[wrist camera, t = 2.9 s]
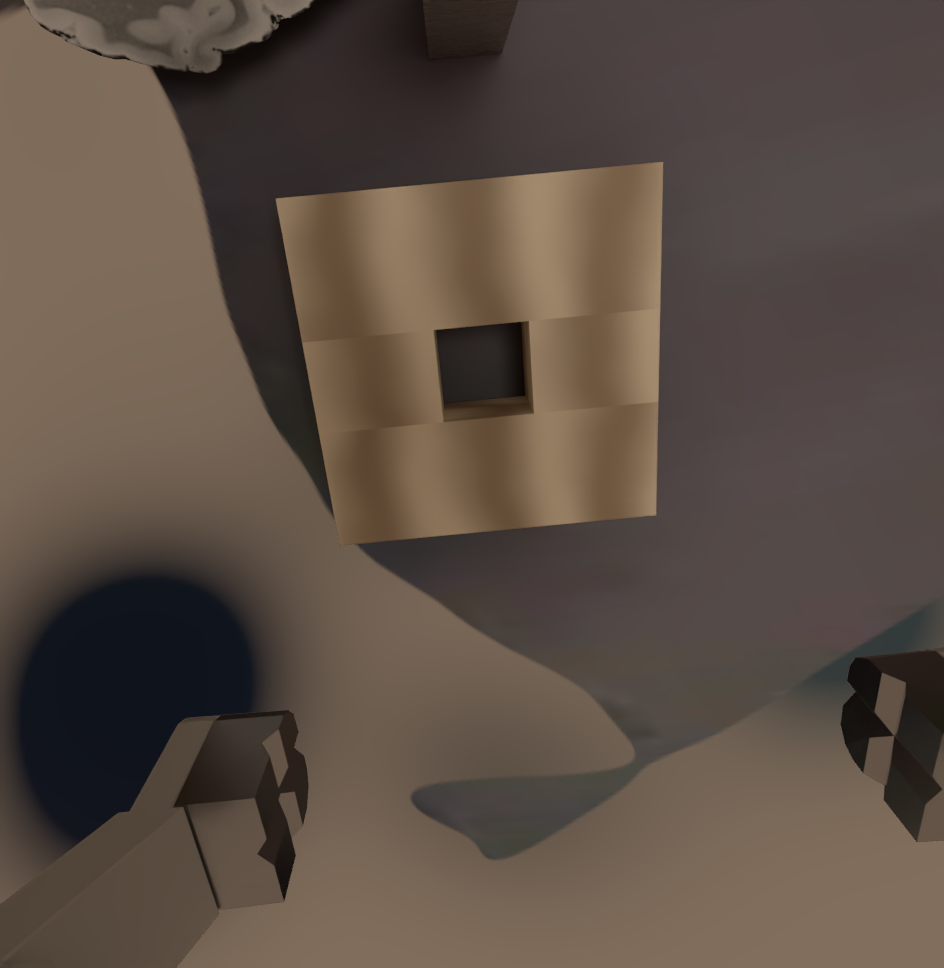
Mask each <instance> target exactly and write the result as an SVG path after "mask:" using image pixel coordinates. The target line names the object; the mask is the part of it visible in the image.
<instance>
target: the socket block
mask: <svg viewBox="0 0 944 968" xmlns="http://www.w3.org/2000/svg"><path fill="white" fill-rule="evenodd" d="M662 189H663V162H657V163H647V164H636V165H626V166H615V167H605V168H594V169H583V170H573V171H562V172H552V173H541V174H531V175H520V176H510V177H499V178H488V179H478V180H467V181H457V182H446V183H436V184H425V185H415V186H404V187H393V188H383V189H372V190H362V191H351V192H341V193H330V194H320V195H309V196H298V197H288V198H277V199H276V204H277V209H278V214H279V220H280V225H281V231H282V236H283V242H284V247H285V252H286V258H287V263H288V269H289V274H290V279H291V285H292V290H293V296H294V301H295V307H296V312H297V317H298V323H299V328H300V334H301V339H302V344H303V350H304V355H305V361H306V366H307V372H308V377H309V382H310V388H311V393H312V399H313V404H314V409H315V415H316V420H317V426H318V431H319V437H320V442H321V447H322V453H323V458H324V464H325V469H326V474H327V480H328V485H329V491H330V496H331V502H332V507H333V512H334V518H335V523H336V528H337V534H338V539H339V544H340V545H350V544H360V543H371V542H381V541H392V540H402V539H413V538H423V537H433V536H444V535H454V534H465V533H475V532H485V531H496V530H506V529H517V528H527V527H538V526H548V525H558V524H569V523H579V522H590V521H600V520H610V519H621V518H631V517H642V516H652V515H656V486H657V436H658V387H659V337H660V288H661V238H662ZM513 322H521V332H522V349H523V366H524V383H525V396H518V397H507V398H497V399H486V400H476V401H465V402H455V403H444V401H443V391H442V382H441V373H440V363H439V354H438V345H437V335H436V330H439V329H450V328H460V327H471V326H481V325H492V324H502V323H513Z"/></svg>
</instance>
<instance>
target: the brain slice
mask: <svg viewBox="0 0 944 968" xmlns="http://www.w3.org/2000/svg"><path fill="white" fill-rule="evenodd" d="M24 2H25V4H26V6H27V8H28V10H29V12H30V14H31V16H32V17H33V18H34V19H35V20H36V21H37V22H38V23H39V24H40V26H42V27H43V28H44V29H46V30H48V31H49V32H51V33H53V34H56V35H58V36H60V37H62V38H63V39H64V40H65V41H67V42H69V43H72V44H74V45H76V46H79V47H81V48H83V49H86V50H88V51H90V52H93V53H95V54H97V55H100V56H104V57H108V58H112V59H127V60H131V61H134V62H137V63H140V64H145V65H149V66H154V67H159V68H164V69H169V70H175V71H180V72H185V71H188V70H190V71H193V72H198V73H202V74H206V73H209V72H212V71H215V70H217V69H218V68H219V66H220V65H221V63H222V62H223V54H229V53H235V52H237V51H239V50H242V49H244V48H246V47H248V46H251V45H253V44H256V43H259V42H262V41H265V40H267V39H268V38H269V37H270V36H271V34H272V32H273V31H274V30H276V29H277V28H278V27H279V22H278V21H280V20H282V19H284V18H294V17H295V16H297V15H299V14H301V13H303V12H305V11H306V10H308V9H309V8H310V7H311V6H312V5H313V4H314V3H315V2H316V0H24Z"/></svg>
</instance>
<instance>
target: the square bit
mask: <svg viewBox="0 0 944 968" xmlns="http://www.w3.org/2000/svg"><path fill="white" fill-rule="evenodd" d="M517 3H518V0H423V8H424V18H425V27H426V37H427V47H428V57H429V60H431V59H442V58H452V57H463V56H474V55H484V54H495V53H502V52H503V49H504V45H505V42H506V39H507V36H508V32H509V29H510V26H511V23H512V19H513V16H514V13H515V10H516V6H517Z"/></svg>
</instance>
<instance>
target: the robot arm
mask: <svg viewBox="0 0 944 968" xmlns="http://www.w3.org/2000/svg"><path fill="white" fill-rule="evenodd" d="M847 681H848V683H849V684H850V685H851V687H852V688H853V689H854V691H855V693H854V694H853V695H852V696H851V697H850V698H849V699H848V700H847V702H846V703H845V704H844V705H843V708H842V718H841V728H842V733H843V737H844V741H845V744H846V747H847V749H848V751H849V753H850V755H851V757H852V759H853V760H854V762H855V763H856V764H857V766H858V767H859V768H860V770H861V771H862V772H863V773H864V774H865V775H867V776H869V777H871V778H872V779H874V780H876V781H878V782H880V783H881V784H883V785H885V787H884V801H885V802H886V803H887V805H888V806H889V807H890V808H891V810H892V811H893V812H894V814H895V815H896V816H897V817H898V819H899V820H900V821H901V823H902V824H903V825H904V826H905V828H906V829H907V830H908V831H909V833H910V834H911V835H912V836H913V838H914V839H915V840H916V842H928V841H944V648H935V649H926V650H925V651H915V652H905V653H895V654H885V655H875V656H865V657H856V658H855V659H854V661H853V662H852V663H851V665H850V666H849V672H848V677H847ZM297 735H298V729H297V725H296V721H295V718H294V714H293V713H291V712H290V711H289V710H286V711H270V712H256V713H241V714H227V715H221V716H207V717H193V718H186V719H185V720H183V721H182V722H180V723H179V724H178V725H177V727H176V729H175V731H174V732H173V734H172V736H171V738H170V740H169V741H168V743H167V745H166V747H165V749H164V750H163V752H162V754H161V756H160V758H159V760H158V761H157V763H156V765H155V767H154V769H153V770H152V772H151V774H150V776H149V778H148V779H147V781H146V783H145V785H144V787H143V788H142V790H141V792H140V794H139V796H138V797H137V799H136V801H135V803H134V805H133V806H132V808H131V810H130V812H124V813H118V814H117V815H115V816H114V817H113V818H111V819H110V820H109V821H107V822H106V823H105V824H104V825H102V826H101V827H100V828H98V829H97V830H96V831H94V832H93V833H92V834H91V835H90V836H88V837H87V838H85V839H84V840H83V841H81V842H80V843H79V844H78V845H76V846H75V847H74V848H72V849H71V850H70V851H69V852H67V853H66V854H65V855H63V856H62V857H61V858H59V859H58V860H57V861H56V862H54V863H53V864H52V865H50V866H49V867H48V868H47V869H45V870H44V871H43V872H41V873H40V874H39V875H37V876H36V877H35V878H34V879H32V880H31V881H30V882H28V883H27V884H26V885H25V886H23V887H22V888H21V889H20V890H18V891H17V892H16V893H14V894H13V895H12V896H10V897H9V898H8V899H6V900H5V901H4V902H3V903H1V904H0V968H176V967H177V966H178V965H179V964H180V962H181V961H182V960H183V959H184V958H185V956H186V955H187V954H188V953H189V951H190V950H191V949H192V948H193V946H194V945H195V944H196V943H197V941H198V940H199V939H200V938H201V936H202V935H203V934H204V933H205V931H206V930H207V929H208V928H209V927H210V925H211V924H212V923H213V921H214V920H215V919H216V918H217V917H218V915H219V911H218V910H224V909H232V908H241V907H249V906H256V905H264V904H272V903H280V902H284V900H285V897H286V892H287V889H288V884H289V881H290V876H291V873H292V869H293V864H294V860H295V856H296V854H295V850H294V846H293V842H292V837H293V836H294V835H295V834H296V833H297V832H298V831H299V829H301V827H302V826H303V823H304V818H305V814H306V810H307V800H308V775H307V767H306V762H305V758H304V756H303V755H302V754H301V753H300V752H299V751H297V750H296V749H295V748H294V746H295V742H296V738H297Z"/></svg>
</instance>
